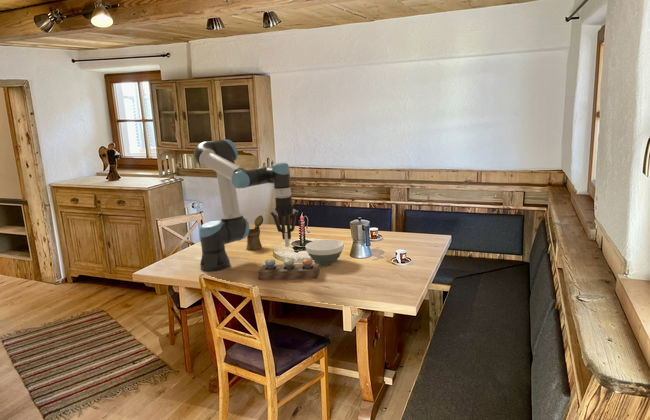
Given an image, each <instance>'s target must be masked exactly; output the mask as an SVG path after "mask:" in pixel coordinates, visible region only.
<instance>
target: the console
mask: <svg viewBox="0 0 650 420" xmlns="http://www.w3.org/2000/svg"><path fill="white" fill-rule="evenodd" d="M292 267H293V269H286V265H284V263H283V264H275V265H274V270H268V269H267V265H265V264H263V265H262V266H261V268H259V270H258V271H257V275H258V276H257V277H258V281H265V280H268V281H269V280H270V281H271V280H272V281H273V280H276V281H277V280H317V279H318V278H319V276H320V273H321V265H320V264H316V263H312V264H311V269H305V268H304V265H303V264H302V263H294V264H292Z"/></svg>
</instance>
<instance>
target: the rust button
mask: <svg viewBox="0 0 650 420" xmlns="http://www.w3.org/2000/svg"><path fill="white" fill-rule="evenodd" d="M313 262H314V261H313V260H312V258H304V259H302V260H301V264H303V265H304V268H305V269H311V264H314V263H313Z"/></svg>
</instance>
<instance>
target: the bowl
mask: <svg viewBox="0 0 650 420" xmlns="http://www.w3.org/2000/svg"><path fill="white" fill-rule="evenodd" d="M344 247H345V243H344V242H343V241H342V240H339V239H332V238H331V239H330V238H329V239H318V240H317V239H316V240H313V241H310V242H307V244H305V250H306V253H307V254H308V256H309V257H310V259H312V261H313V262H314V264H320V266H323V267H324V266H331V265H333V264H336V263H337V261H338V259H339V258H340V256H341V254H342V252H343V250H344Z"/></svg>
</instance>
